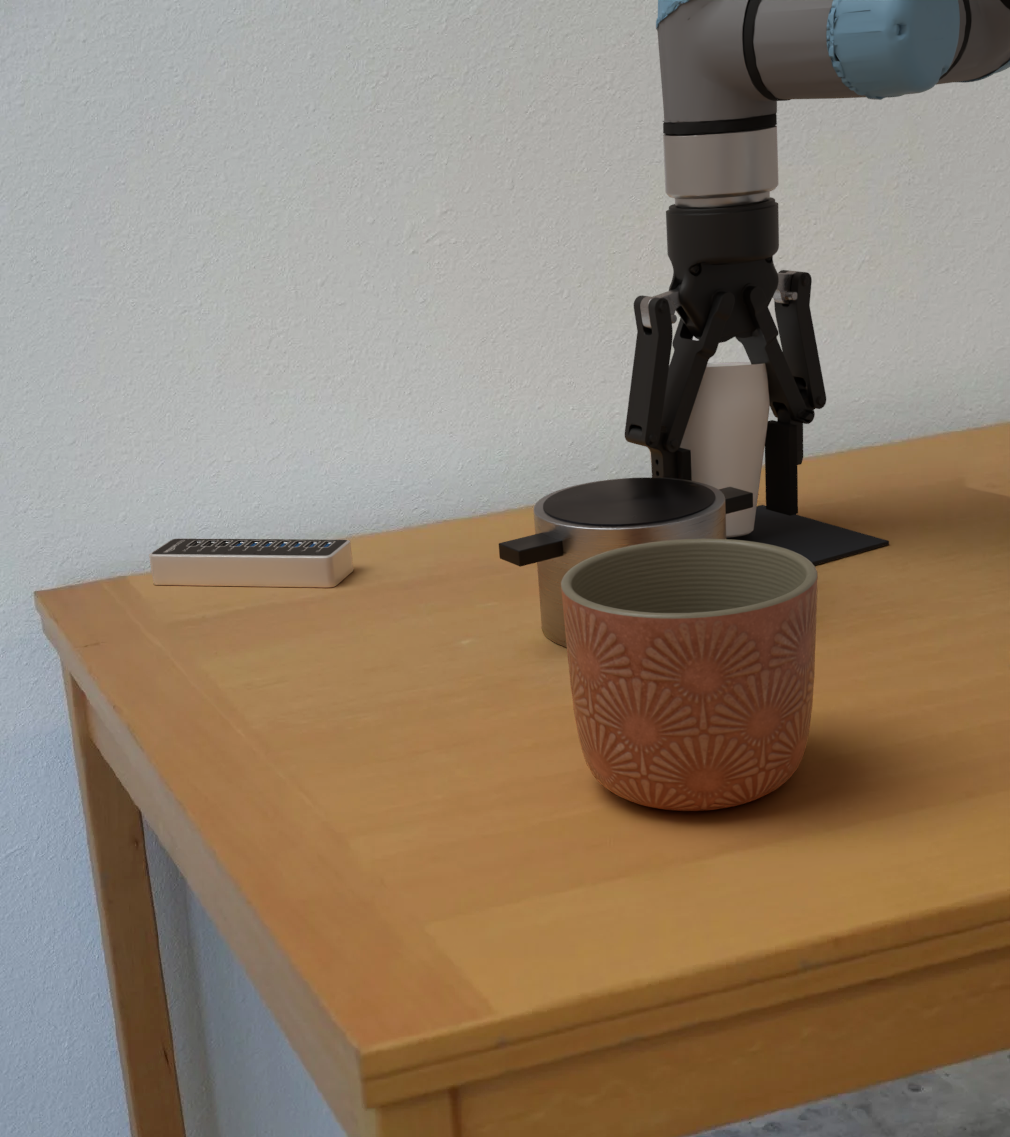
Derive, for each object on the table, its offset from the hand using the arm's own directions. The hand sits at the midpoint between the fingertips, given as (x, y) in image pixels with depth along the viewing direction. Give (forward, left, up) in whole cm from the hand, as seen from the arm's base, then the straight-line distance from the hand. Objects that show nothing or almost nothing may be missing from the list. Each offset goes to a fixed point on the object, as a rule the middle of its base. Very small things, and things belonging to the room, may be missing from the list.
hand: (730, 524), depth 123 cm
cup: (+2, +1, -1) cm, 2 cm away
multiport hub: (+19, +29, -2) cm, 35 cm away
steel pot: (-9, +15, -2) cm, 17 cm away
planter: (-31, +27, -2) cm, 41 cm away
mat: (-1, -1, -2) cm, 2 cm away
